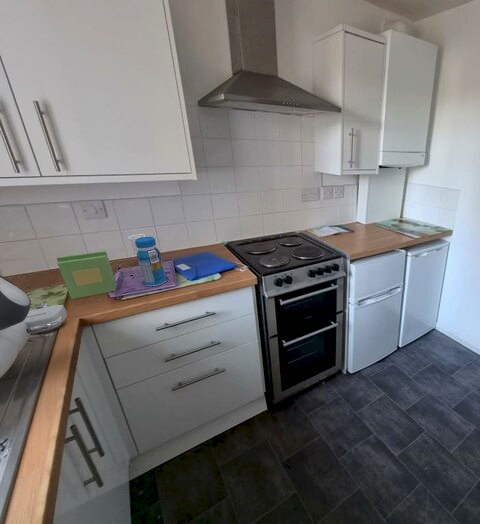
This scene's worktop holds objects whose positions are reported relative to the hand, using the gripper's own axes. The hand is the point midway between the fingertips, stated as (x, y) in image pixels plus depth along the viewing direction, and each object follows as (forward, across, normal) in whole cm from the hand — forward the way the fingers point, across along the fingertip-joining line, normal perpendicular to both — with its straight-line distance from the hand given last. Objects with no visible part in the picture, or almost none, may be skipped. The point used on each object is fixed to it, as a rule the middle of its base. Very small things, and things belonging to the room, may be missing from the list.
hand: (22, 311), depth 81 cm
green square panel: (+38, -8, +14) cm, 41 cm away
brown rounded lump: (+12, 0, +14) cm, 18 cm away
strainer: (+66, -24, +14) cm, 72 cm away
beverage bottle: (+36, -29, +14) cm, 48 cm away
